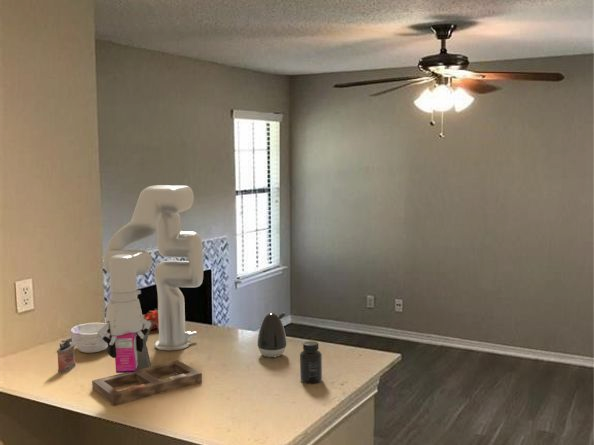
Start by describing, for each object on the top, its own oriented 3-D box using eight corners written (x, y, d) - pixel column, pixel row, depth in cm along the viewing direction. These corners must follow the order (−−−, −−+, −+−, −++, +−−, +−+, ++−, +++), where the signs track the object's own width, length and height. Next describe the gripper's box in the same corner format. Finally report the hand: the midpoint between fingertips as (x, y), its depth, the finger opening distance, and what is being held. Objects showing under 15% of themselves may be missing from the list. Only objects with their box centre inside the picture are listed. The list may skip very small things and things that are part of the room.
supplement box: (118, 366, 199) (117, 330, 197) (138, 366, 199) (137, 329, 198) (114, 373, 193) (113, 335, 192) (135, 372, 194) (134, 335, 192)
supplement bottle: (324, 377, 208) (324, 341, 206) (318, 385, 201) (318, 347, 200) (304, 375, 210) (304, 339, 208) (297, 382, 204) (297, 345, 202)
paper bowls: (122, 349, 236) (121, 328, 235) (81, 358, 227) (80, 336, 226) (104, 339, 248) (103, 319, 247) (64, 348, 238) (63, 327, 237)
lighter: (64, 373, 212) (63, 343, 211) (55, 373, 213) (53, 343, 212) (77, 365, 220) (76, 336, 219) (68, 364, 221) (67, 335, 219)
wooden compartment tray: (177, 368, 216) (177, 358, 216) (201, 382, 204) (201, 371, 204) (92, 390, 198) (91, 379, 198) (113, 406, 186) (113, 394, 186)
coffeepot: (154, 359, 225) (153, 308, 223) (158, 368, 217) (157, 315, 214) (108, 365, 220) (106, 313, 218) (110, 374, 211) (108, 320, 209)
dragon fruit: (169, 328, 267) (146, 340, 258) (156, 314, 270) (133, 325, 261) (175, 315, 263) (152, 326, 254) (162, 301, 266) (138, 311, 257)
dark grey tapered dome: (292, 356, 228) (292, 313, 226) (267, 362, 223) (267, 318, 221) (277, 348, 237) (276, 307, 235) (252, 354, 231) (251, 312, 229)
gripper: (145, 289, 202) (147, 344, 204) (90, 298, 191) (92, 356, 193) (156, 294, 196) (158, 350, 198) (100, 303, 185) (103, 363, 187)
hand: (126, 353), depth 196 cm, fingers closed on supplement box, 7 cm apart
